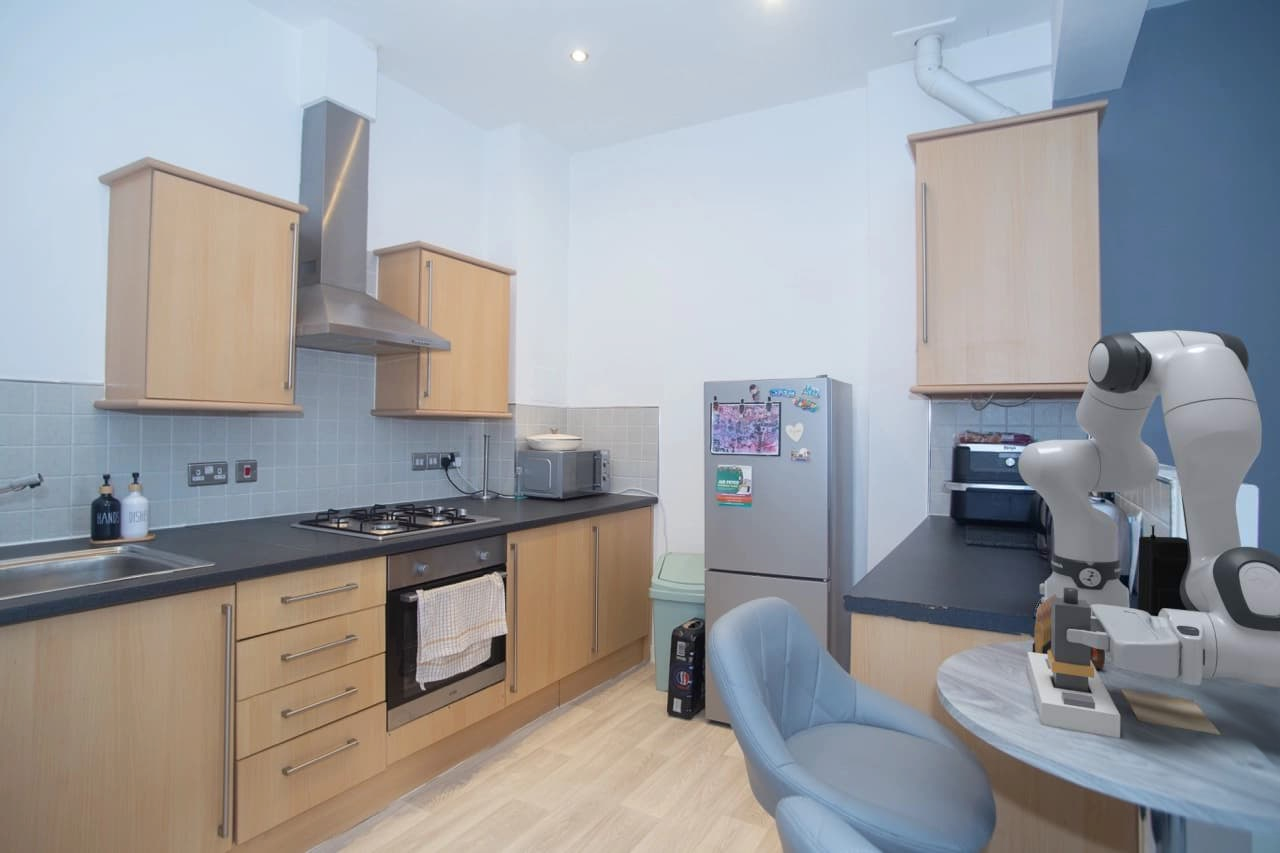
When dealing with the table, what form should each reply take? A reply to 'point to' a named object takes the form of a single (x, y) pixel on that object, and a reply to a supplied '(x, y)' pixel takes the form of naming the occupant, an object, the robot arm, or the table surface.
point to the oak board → (1168, 711)
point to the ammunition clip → (1043, 628)
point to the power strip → (1069, 712)
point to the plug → (1070, 643)
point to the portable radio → (1161, 573)
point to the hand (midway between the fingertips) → (1063, 627)
